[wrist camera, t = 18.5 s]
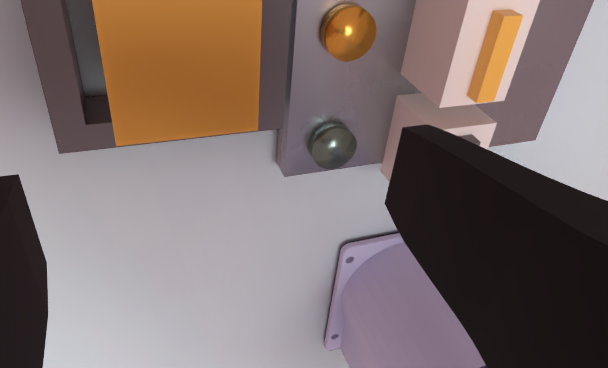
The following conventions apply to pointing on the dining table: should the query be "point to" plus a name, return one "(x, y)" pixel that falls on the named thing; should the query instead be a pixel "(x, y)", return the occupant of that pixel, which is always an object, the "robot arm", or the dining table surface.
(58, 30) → the socket
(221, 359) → the dining table surface
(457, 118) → the block
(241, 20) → the copper lidded box
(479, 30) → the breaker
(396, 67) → the panel
